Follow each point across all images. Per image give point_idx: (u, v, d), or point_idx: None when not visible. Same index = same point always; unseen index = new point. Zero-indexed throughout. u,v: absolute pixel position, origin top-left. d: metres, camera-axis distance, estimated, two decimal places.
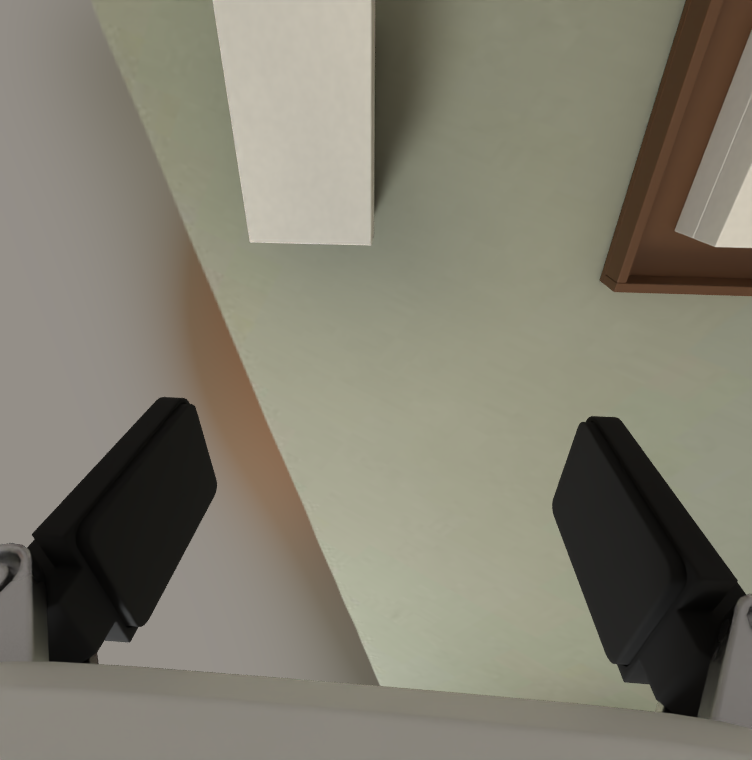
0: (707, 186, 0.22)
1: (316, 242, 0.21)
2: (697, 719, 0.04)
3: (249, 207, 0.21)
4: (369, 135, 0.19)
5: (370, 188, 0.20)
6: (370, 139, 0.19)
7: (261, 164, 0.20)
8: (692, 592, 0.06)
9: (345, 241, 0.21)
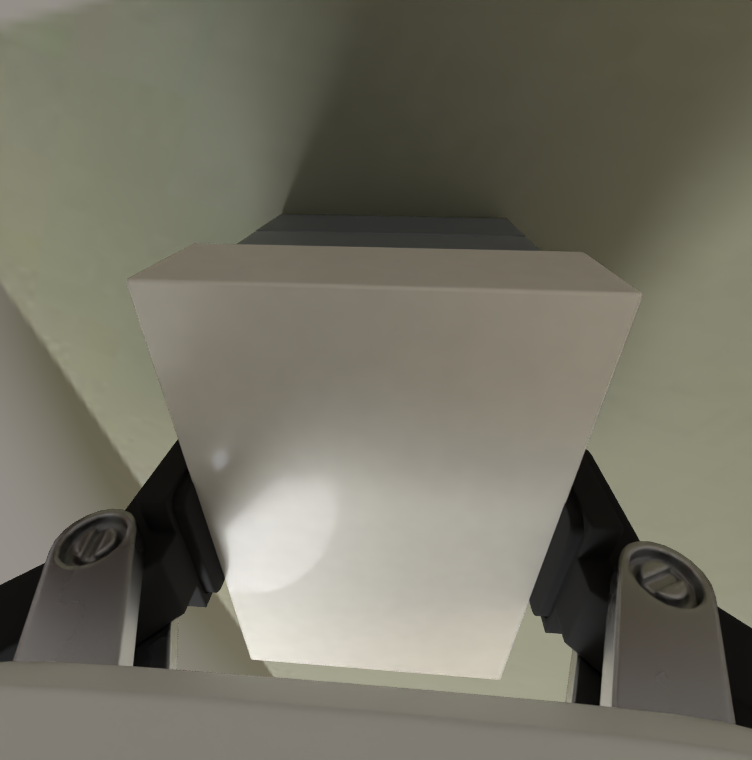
0: None
1: None
2: (697, 720, 0.04)
3: (249, 626, 0.10)
4: (540, 563, 0.08)
5: (519, 623, 0.09)
6: (540, 567, 0.08)
7: (277, 581, 0.09)
8: (589, 541, 0.07)
9: (447, 673, 0.10)
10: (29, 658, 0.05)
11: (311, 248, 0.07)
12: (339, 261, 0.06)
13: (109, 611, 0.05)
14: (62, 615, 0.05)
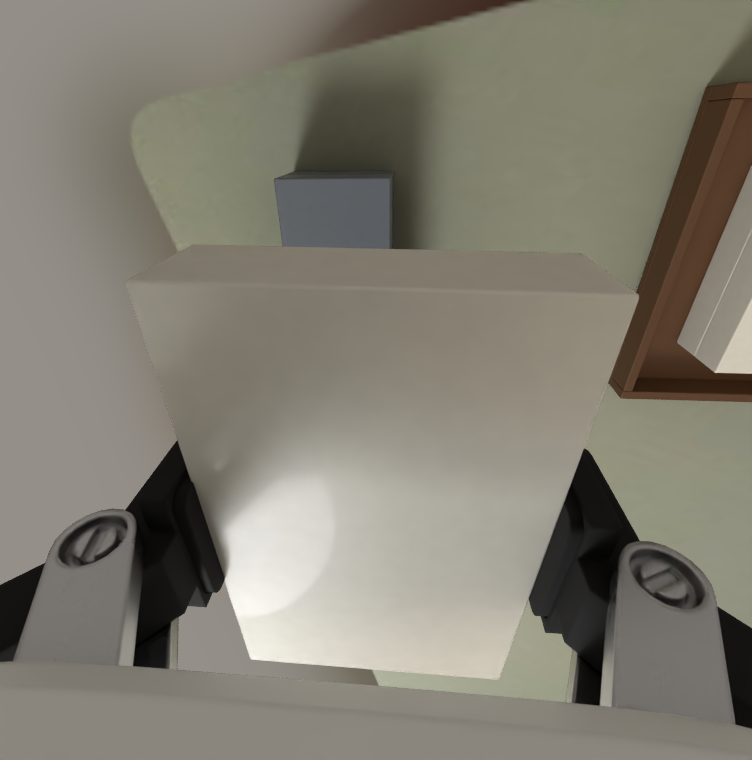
0: (706, 312, 0.24)
1: None
2: (697, 720, 0.04)
3: (248, 626, 0.10)
4: (538, 564, 0.08)
5: (518, 623, 0.09)
6: (538, 567, 0.08)
7: (276, 581, 0.09)
8: (589, 541, 0.07)
9: (446, 672, 0.10)
10: (29, 658, 0.05)
11: (310, 249, 0.07)
12: (337, 263, 0.06)
13: (109, 611, 0.05)
14: (62, 615, 0.05)
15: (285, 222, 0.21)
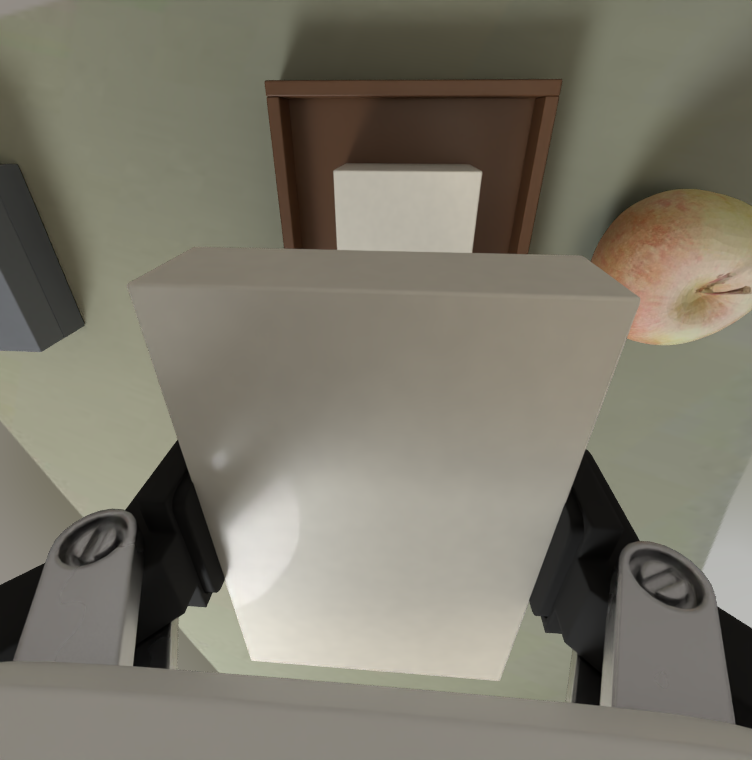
0: None
1: (387, 671, 0.11)
2: (697, 720, 0.04)
3: (249, 627, 0.10)
4: (539, 566, 0.08)
5: (518, 625, 0.09)
6: (539, 569, 0.08)
7: (277, 583, 0.09)
8: (589, 541, 0.07)
9: (447, 674, 0.10)
10: (29, 658, 0.05)
11: (311, 251, 0.07)
12: (339, 265, 0.06)
13: (109, 611, 0.05)
14: (62, 615, 0.05)
15: None
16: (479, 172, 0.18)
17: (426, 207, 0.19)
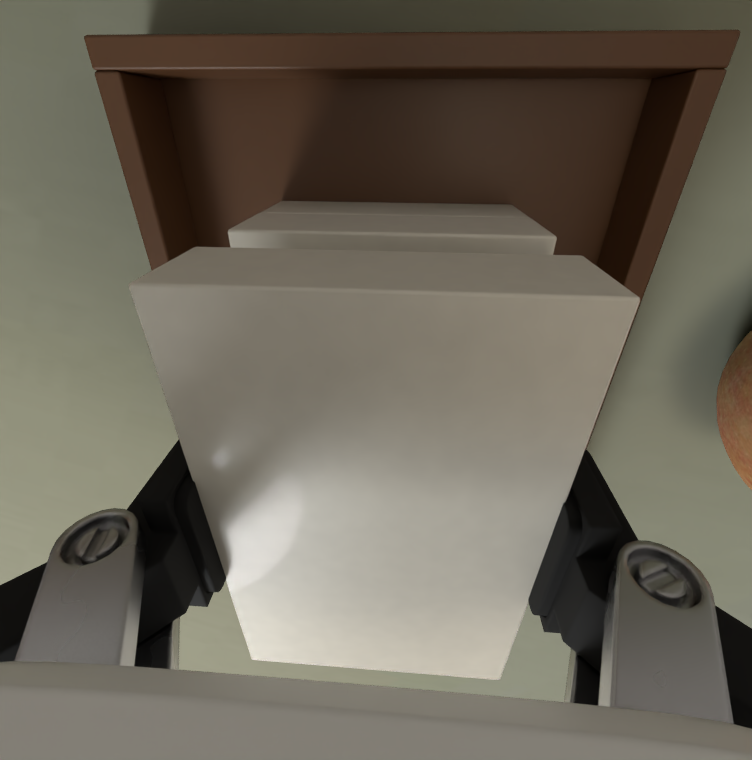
0: None
1: (387, 670, 0.11)
2: (697, 719, 0.04)
3: (250, 626, 0.10)
4: (539, 565, 0.08)
5: (518, 624, 0.09)
6: None
7: (278, 582, 0.09)
8: (587, 541, 0.07)
9: (447, 673, 0.10)
10: (31, 657, 0.05)
11: (312, 252, 0.07)
12: (340, 264, 0.06)
13: (111, 610, 0.05)
14: (64, 614, 0.05)
15: None
16: (550, 238, 0.08)
17: None
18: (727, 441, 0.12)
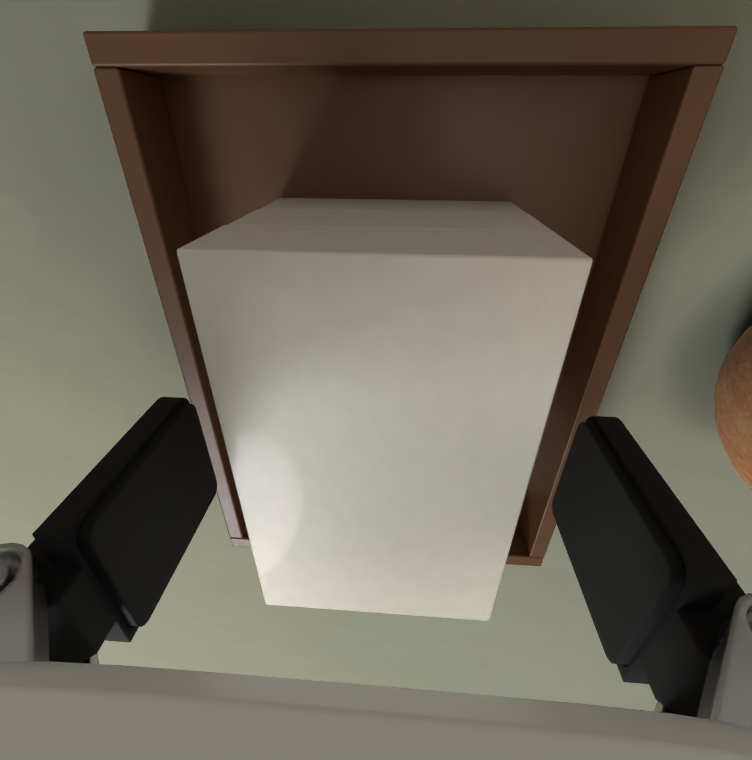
0: None
1: (388, 612, 0.12)
2: (698, 720, 0.04)
3: (265, 570, 0.11)
4: (520, 503, 0.09)
5: (504, 563, 0.10)
6: (520, 507, 0.09)
7: (291, 524, 0.10)
8: (691, 592, 0.06)
9: (442, 614, 0.12)
10: None
11: (324, 228, 0.08)
12: (348, 237, 0.07)
13: None
14: None
15: None
16: None
17: None
18: (725, 437, 0.12)
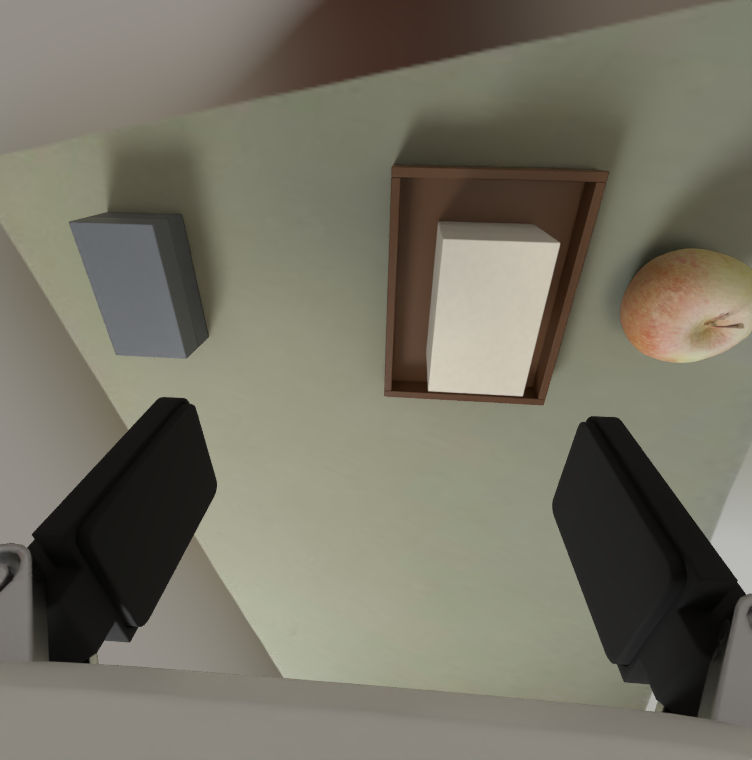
0: (429, 330, 0.31)
1: (480, 393, 0.28)
2: (697, 720, 0.04)
3: (434, 369, 0.28)
4: (537, 330, 0.25)
5: (530, 361, 0.27)
6: (537, 332, 0.26)
7: (451, 344, 0.26)
8: (692, 592, 0.06)
9: (503, 393, 0.28)
10: None
11: (476, 233, 0.24)
12: (487, 236, 0.24)
13: None
14: None
15: (83, 253, 0.28)
16: None
17: None
18: (622, 323, 0.29)
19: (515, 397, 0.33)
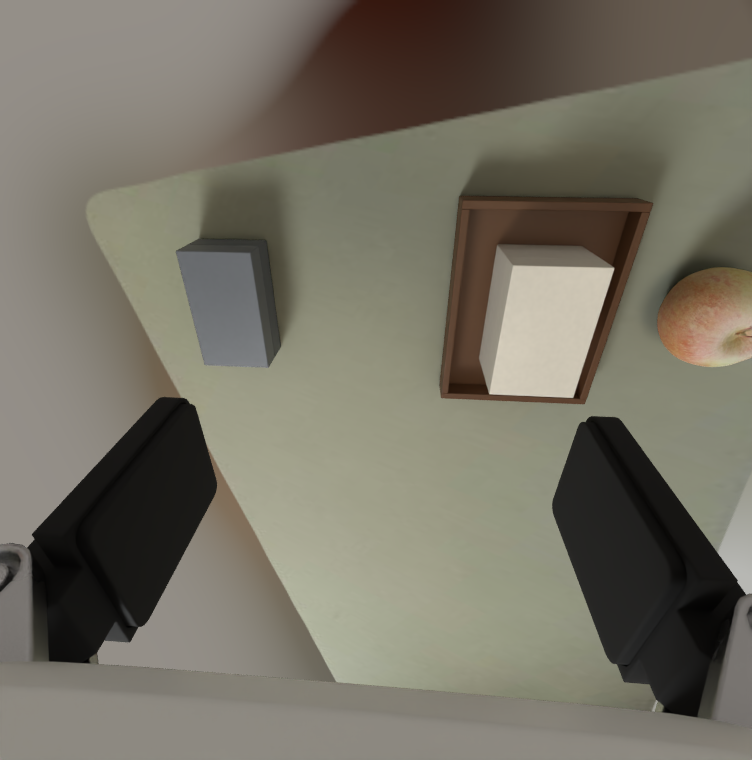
0: (485, 339, 0.35)
1: (535, 395, 0.32)
2: (697, 720, 0.04)
3: (496, 375, 0.31)
4: (590, 341, 0.29)
5: None
6: None
7: (512, 354, 0.30)
8: (692, 592, 0.06)
9: (556, 395, 0.32)
10: None
11: (538, 258, 0.28)
12: (549, 261, 0.28)
13: None
14: None
15: (186, 277, 0.32)
16: None
17: None
18: (659, 332, 0.32)
19: (559, 397, 0.37)
